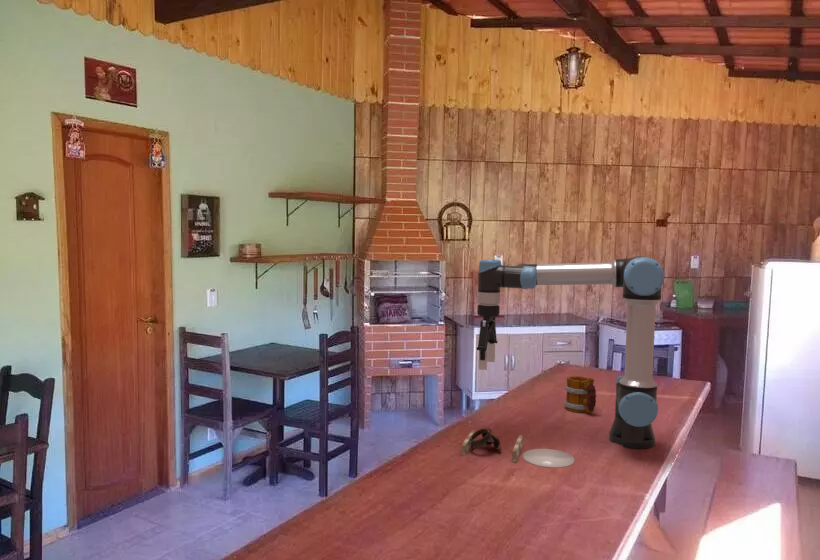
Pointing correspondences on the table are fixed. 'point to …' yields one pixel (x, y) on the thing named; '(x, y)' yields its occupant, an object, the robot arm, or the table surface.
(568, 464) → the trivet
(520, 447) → the pair of beige bars
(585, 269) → the robot arm
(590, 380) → the mug
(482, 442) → the pottery mug
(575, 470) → the table surface
